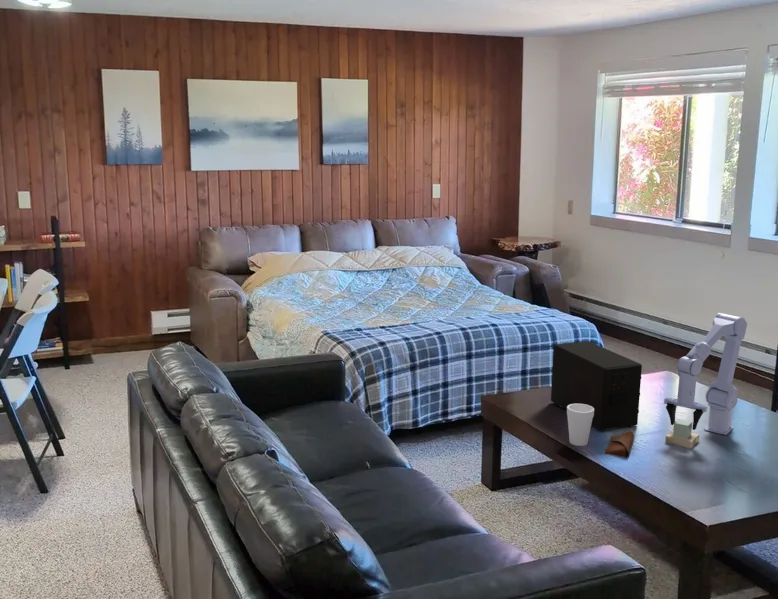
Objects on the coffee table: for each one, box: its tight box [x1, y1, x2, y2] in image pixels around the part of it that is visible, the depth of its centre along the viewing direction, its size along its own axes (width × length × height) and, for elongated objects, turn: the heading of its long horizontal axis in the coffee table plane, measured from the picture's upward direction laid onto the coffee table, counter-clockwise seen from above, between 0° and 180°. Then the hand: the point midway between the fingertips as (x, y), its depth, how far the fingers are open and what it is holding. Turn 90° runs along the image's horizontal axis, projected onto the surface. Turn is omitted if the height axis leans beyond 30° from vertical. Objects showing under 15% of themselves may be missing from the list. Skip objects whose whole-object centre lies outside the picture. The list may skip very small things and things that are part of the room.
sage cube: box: [672, 418, 693, 439], centre depth 284 cm, size 5×5×5 cm
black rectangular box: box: [550, 341, 643, 432], centre depth 309 cm, size 38×20×25 cm, turn 20°
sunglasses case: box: [604, 430, 635, 458], centre depth 280 cm, size 18×7×7 cm
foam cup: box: [566, 404, 594, 447], centre depth 283 cm, size 10×9×13 cm
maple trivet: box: [664, 429, 700, 449], centre depth 285 cm, size 9×9×3 cm
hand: (683, 426), depth 284 cm, fingers open, 7 cm apart
